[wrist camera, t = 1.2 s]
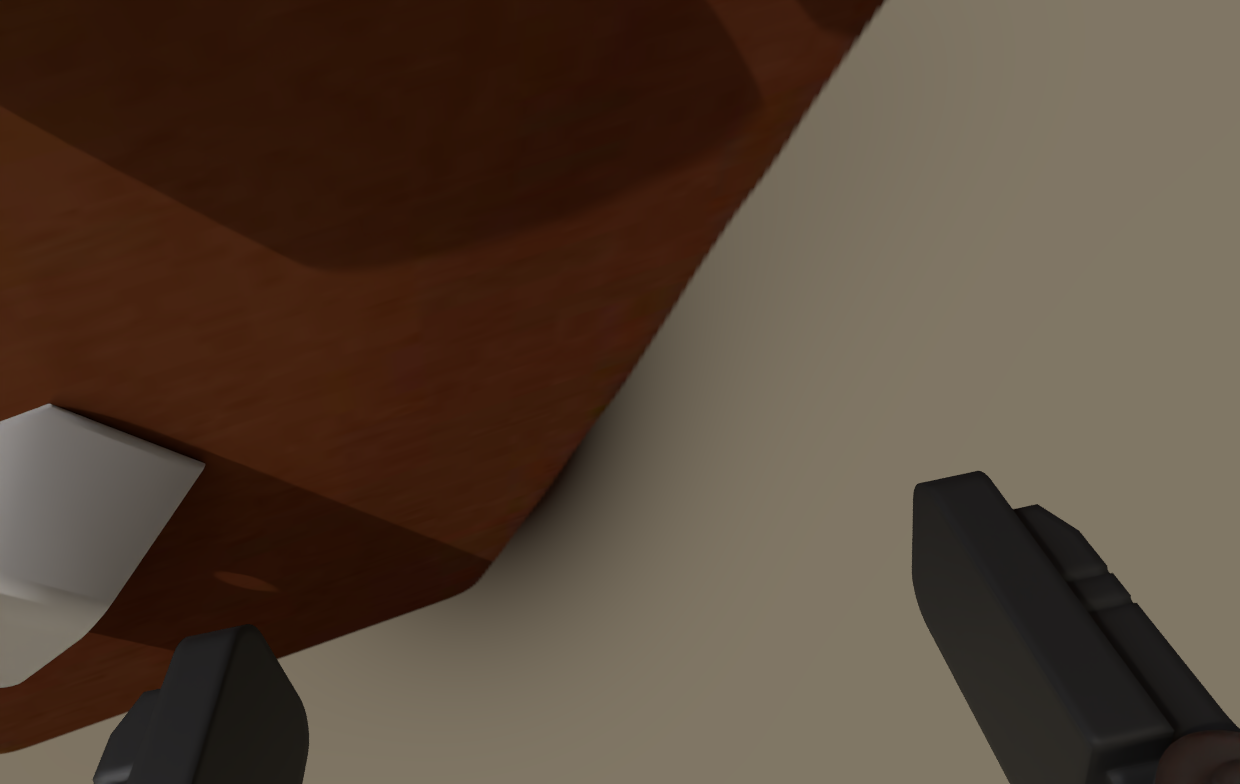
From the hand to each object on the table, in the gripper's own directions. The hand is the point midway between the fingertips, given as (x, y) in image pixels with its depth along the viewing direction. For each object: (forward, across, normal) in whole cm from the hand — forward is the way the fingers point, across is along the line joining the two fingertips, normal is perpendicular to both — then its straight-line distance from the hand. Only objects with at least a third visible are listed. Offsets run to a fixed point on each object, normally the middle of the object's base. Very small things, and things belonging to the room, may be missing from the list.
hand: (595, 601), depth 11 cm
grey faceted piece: (+39, +39, +21) cm, 59 cm away
